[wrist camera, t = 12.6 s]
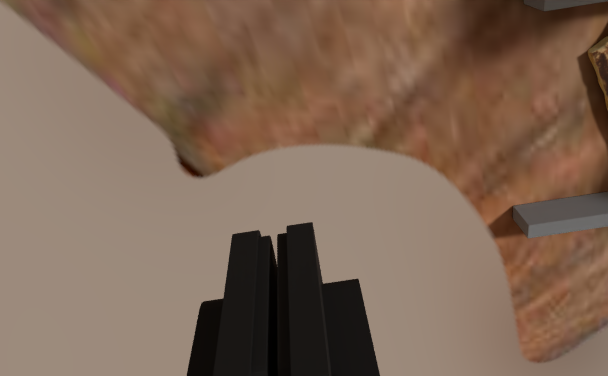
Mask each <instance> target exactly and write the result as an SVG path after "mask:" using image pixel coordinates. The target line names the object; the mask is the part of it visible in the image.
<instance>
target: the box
mask: <svg viewBox="0 0 608 376" xmlns="http://www.w3.org/2000/svg"><path fill="white" fill-rule="evenodd" d="M605 1H608V0H524V4H526V5H528V6H531V7H534V8H536V9H539V10H542V11H550V10H556V9H562V8H568V7H574V6H581V5H587V4H593V3H599V2H605ZM513 219H514V221H515V222H516V223H517V225H518V226H519V227H520V228H521V230H522V231H523V232H524V234H525V235H526V236H527V238H533V237H540V236H547V235H553V234H560V233H567V232H573V231H580V230H587V229H594V228H600V227H607V226H608V192H602V193H595V194H588V195H582V196H575V197H568V198H562V199H555V200H549V201H542V202H535V203H529V204H522V205H515V206H513Z"/></svg>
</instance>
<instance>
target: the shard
mask: <svg viewBox="0 0 608 376" xmlns="http://www.w3.org/2000/svg"><path fill="white" fill-rule="evenodd" d="M588 56H589V59H590V60H591V62H592V65H593V66H594V69H595V71H596V74H597V77H598V83H599V85H600V86H601V88H602V90H603V92H604V95H605V102H606V106H607V110H608V36H607V37H605V38H604V39H602V40H601V41H599V42H598V43H597V44H596V45H594V46H593V47H592V48H590V49H589V50H588Z"/></svg>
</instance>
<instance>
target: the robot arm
mask: <svg viewBox="0 0 608 376" xmlns="http://www.w3.org/2000/svg"><path fill="white" fill-rule="evenodd" d="M277 247H278V248H277V249H278V250H277V252H278V253H277V255H278V256H277V264H276V259H275V254H274V250H273V245H272V241H271V237H270V236H263V237H261V234H260V231H259V230H257V231H251V232H244V233H237V234H233V235H232V241H231V248H230V255H229V263H228V270H227V277H226V284H225V292H224V299H218V300H211V301H204V302H203V303H202V304H201V306H200V310H199V315H198V320H197V325H196V331H195V336H194V340H193V346H192V351H191V357H190V361H189V366H188V372H187V376H380V374H379V370H378V365H377V361H376V356H375V351H374V347H373V342H372V338H371V333H370V329H369V324H368V320H367V315H366V311H365V306H364V302H363V297H362V293H361V288H360V284H359V280H358V279H352V280H346V281H340V282H332V283H325V284H323V282H322V276H321V270H320V265H319V258H318V253H317V246H316V241H315V235H314V229H313V223H312V222H311V223H303V224H296V225H290V226H287V233H283V234H278V237H277Z"/></svg>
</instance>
